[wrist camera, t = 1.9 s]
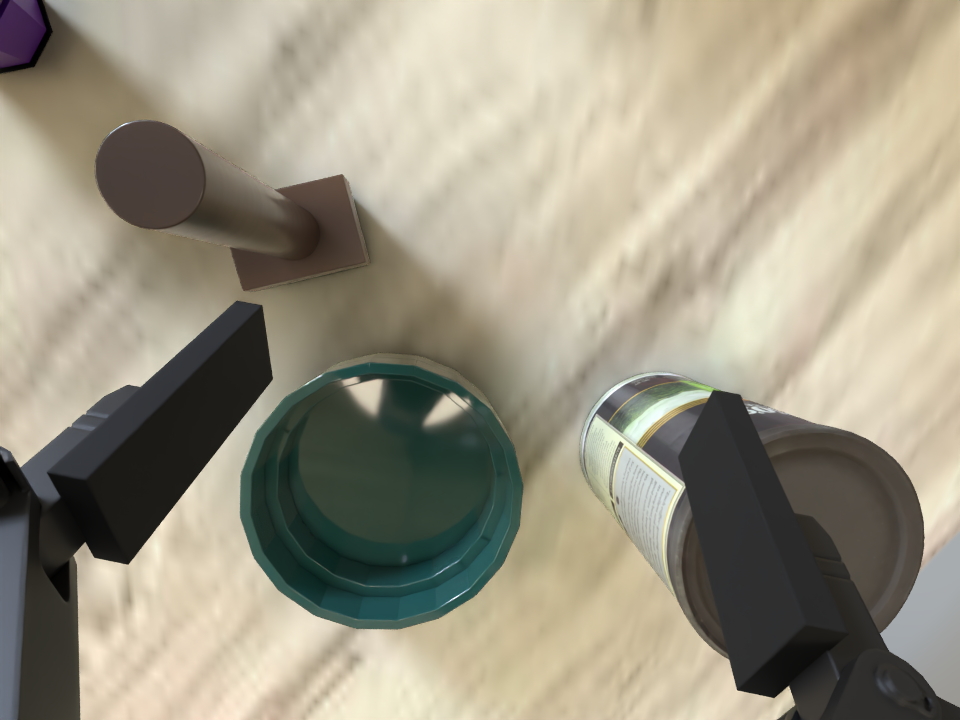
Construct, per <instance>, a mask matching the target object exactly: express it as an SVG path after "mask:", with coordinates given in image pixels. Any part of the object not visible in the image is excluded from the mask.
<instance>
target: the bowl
mask: <svg viewBox="0 0 960 720" xmlns="http://www.w3.org/2000/svg"><path fill="white" fill-rule="evenodd" d="M522 495H523V482H522V478H521V474H520V469H519V465H518V461H517V457H516V453H515V448H514V445H513V443H512V441H511V439H510V437H509V435H508V433H507V431H506V429H505V427H504V425H503V423H502V421H501V420H500V418H499V417H498V415H497V414H496V412H495V410H494V409H493V407H492V406H491V404H490V402H489V401H488V399H487V398H486V396H485V394H484V393H483V392H481V391H480V390H479V389H478V388H477V387H475V386H474V385H473V384H472V383H471V382H469V381H468V380H467V379H466V378H464V377H463V376H462V375H461V374H460V373H458V372H457V371H456V370H454V369H452V368H450V367H447V366H445V365H442V364H440V363H437V362H435V361H432V360H429V359H427V358H424V357H422V356H418V355H409V354H394V353H374V354H370V355H366V356H362V357H358V358H354V359H350V360H346V361H342V362H339V363H337V364H336V365H334V366H333V367H331V368H329V369H328V370H326V371H324V372H323V373H321V374H320V375H318V376H316V377H315V378H313V379H312V380H310V381H308V382H307V383H305V384H304V385H302V386H301V387H299V388H298V389H296V390H295V391H294V392H292V393H291V394H289V395H288V396H286V397H285V398H284V399H283V400H282V401H281V403H280V404H279V405H278V406H277V407H276V409H275V410H274V411H273V412H272V413H271V415H270V416H269V417H268V418H267V420H266V421H265V422H264V423H263V424H262V426H261V427H260V428H259V429H258V430H257V432H256V434H255V436H254V439H253V442H252V444H251V447H250V450H249V452H248V455H247V458H246V460H245V463H244V466H243V468H242V471H241V486H240V518H241V521H242V524H243V527H244V530H245V533H246V536H247V539H248V542H249V545H250V548H251V551H252V554H253V556H254V559H255V560H256V561H257V563H258V564H259V565H260V567H261V568H262V569H263V571H264V572H265V573H266V575H267V576H268V577H269V579H270V580H271V581H272V582H273V584H274V585H275V586H276V588H277V589H278V590H279V591H280V592H281V593H283V594H284V595H286V596H287V597H288V598H290V599H291V600H293V601H294V602H296V603H297V604H299V605H300V606H301V607H303V608H304V609H306V610H307V611H309V612H310V613H312V614H313V615H315V616H317V617H320V618H324V619H327V620H330V621H333V622H336V623H339V624H343V625H346V626H349V627H352V628H356V629H402V628H406V627H409V626H413V625H417V624H420V623H424V622H428V621H431V620H435V619H439V618H440V617H442V616H444V615H445V614H447V613H449V612H450V611H452V610H453V609H455V608H457V607H458V606H460V605H462V604H463V603H465V602H466V601H468V600H470V599H471V598H473V597H474V596H475V595H477V594H478V592H479V591H480V590H481V589H482V588H483V587H484V586H485V584H486V583H487V582H488V581H489V580H490V579H491V578H492V576H493V575H494V574H495V573H496V572H497V571H498V570H499V568H500V567H501V566H502V564H503V563H504V561H505V559H506V557H507V554H508V552H509V550H510V547H511V545H512V543H513V541H514V538H515V536H516V534H517V531H518V529H519V526H520V517H521V506H522Z"/></svg>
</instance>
